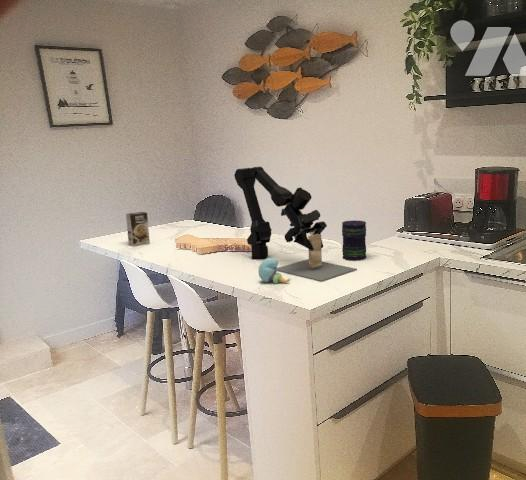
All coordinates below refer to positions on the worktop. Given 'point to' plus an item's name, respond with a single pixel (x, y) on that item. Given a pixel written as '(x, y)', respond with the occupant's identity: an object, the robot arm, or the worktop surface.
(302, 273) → the mat
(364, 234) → the storage jar
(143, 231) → the coffee box
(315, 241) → the birch tile
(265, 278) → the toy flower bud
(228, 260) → the worktop surface
